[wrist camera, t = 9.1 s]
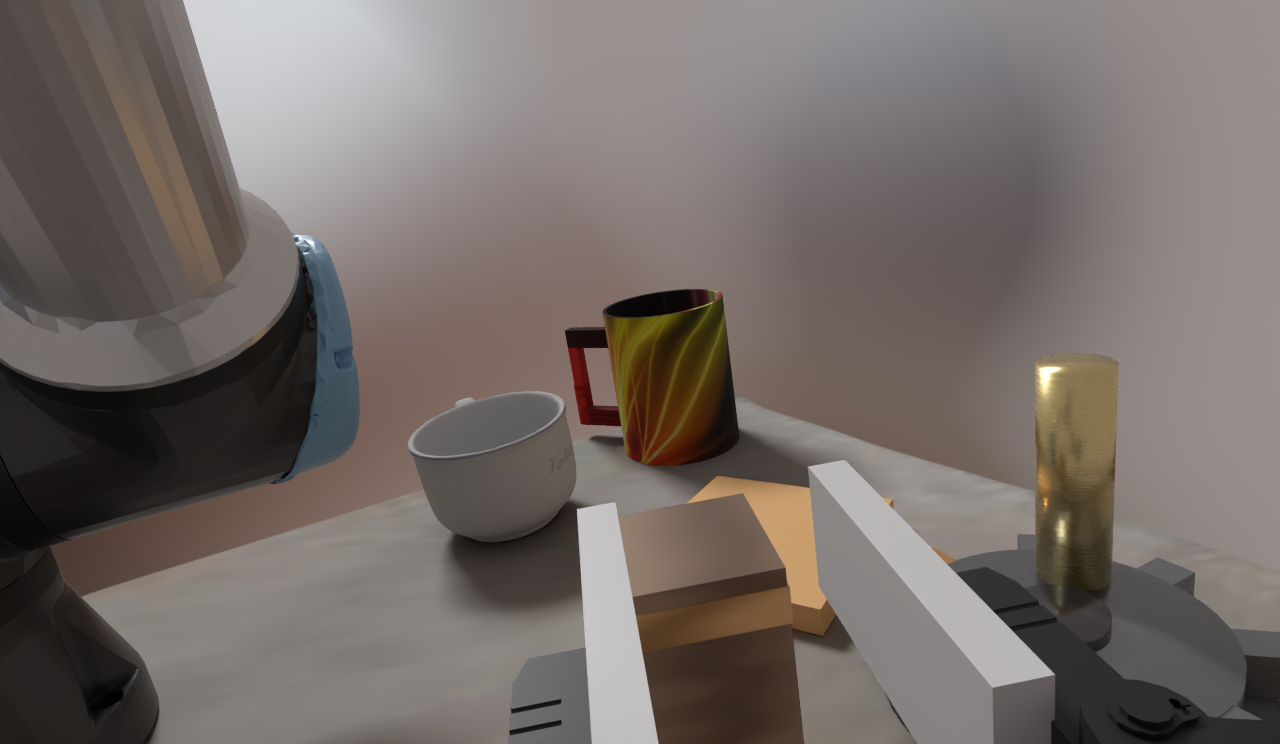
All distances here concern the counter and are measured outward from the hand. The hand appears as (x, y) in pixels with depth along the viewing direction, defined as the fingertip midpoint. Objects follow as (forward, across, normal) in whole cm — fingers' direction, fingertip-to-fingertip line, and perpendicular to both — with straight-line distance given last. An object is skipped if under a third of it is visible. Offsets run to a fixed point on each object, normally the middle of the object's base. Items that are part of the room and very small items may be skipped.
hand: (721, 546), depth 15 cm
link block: (+8, 0, -16) cm, 18 cm away
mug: (+46, +2, -16) cm, 49 cm away
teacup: (+38, -10, -16) cm, 42 cm away
